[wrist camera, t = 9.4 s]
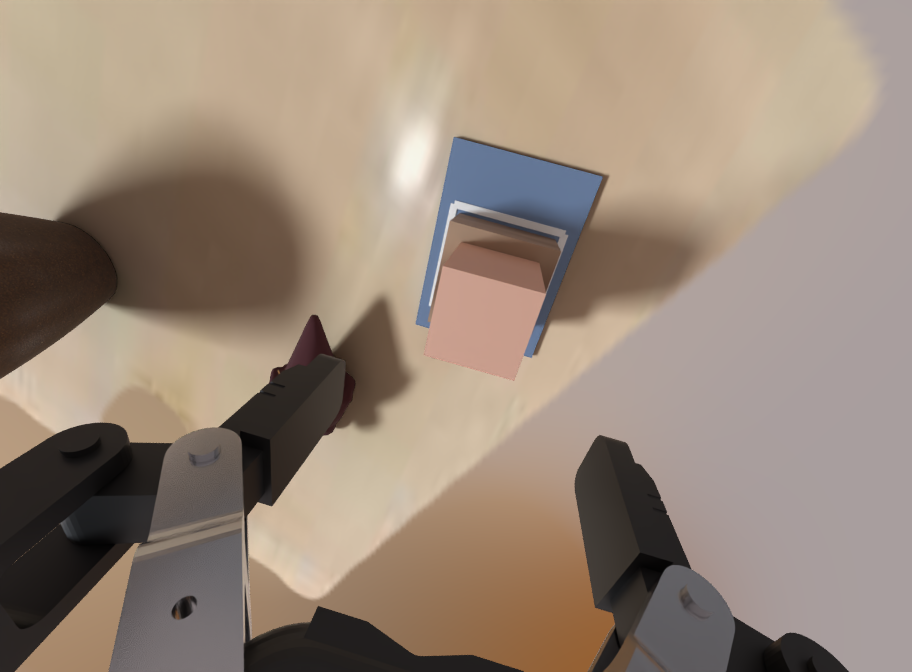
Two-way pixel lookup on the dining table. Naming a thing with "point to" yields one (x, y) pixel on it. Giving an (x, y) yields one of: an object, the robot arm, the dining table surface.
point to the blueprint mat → (511, 208)
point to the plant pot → (46, 284)
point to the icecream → (308, 350)
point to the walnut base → (499, 244)
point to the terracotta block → (485, 310)
